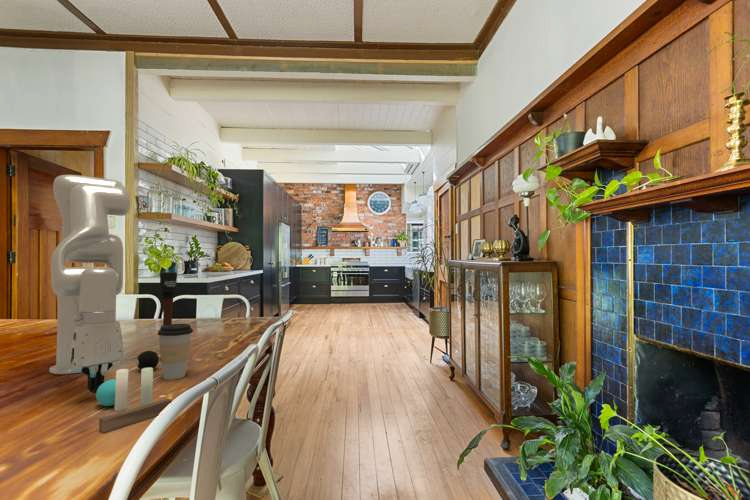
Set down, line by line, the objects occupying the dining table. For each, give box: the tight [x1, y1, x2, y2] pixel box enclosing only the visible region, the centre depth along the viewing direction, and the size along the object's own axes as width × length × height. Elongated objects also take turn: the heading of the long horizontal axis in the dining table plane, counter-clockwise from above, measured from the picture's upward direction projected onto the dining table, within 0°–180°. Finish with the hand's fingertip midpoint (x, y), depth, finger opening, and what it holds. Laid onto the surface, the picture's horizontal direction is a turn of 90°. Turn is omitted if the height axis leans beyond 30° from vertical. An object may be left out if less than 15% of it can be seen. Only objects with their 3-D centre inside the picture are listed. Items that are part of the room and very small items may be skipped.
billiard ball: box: [136, 350, 160, 371], centre depth 123 cm, size 6×6×6 cm
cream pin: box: [113, 368, 130, 412], centre depth 92 cm, size 2×2×9 cm
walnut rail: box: [98, 397, 173, 434], centre depth 86 cm, size 2×14×2 cm, turn 148°
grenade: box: [158, 271, 178, 326], centre depth 135 cm, size 6×6×30 cm
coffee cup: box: [157, 323, 194, 381], centre depth 117 cm, size 9×9×15 cm
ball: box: [95, 379, 116, 407], centre depth 94 cm, size 6×6×6 cm
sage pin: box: [139, 367, 154, 406], centre depth 93 cm, size 2×2×9 cm
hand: (95, 391), depth 98 cm, fingers closed
